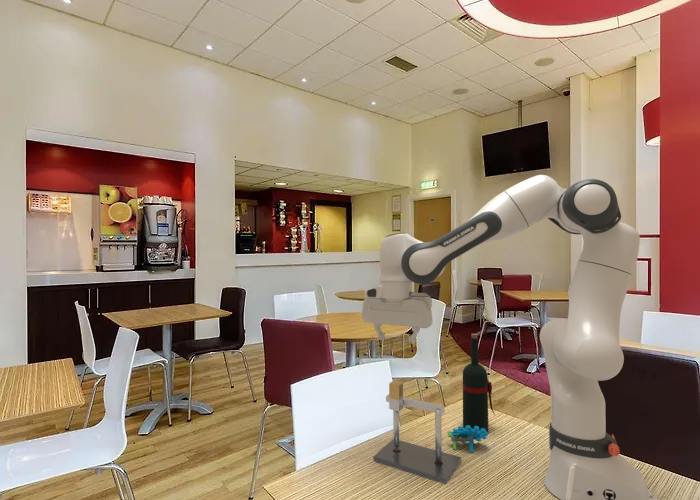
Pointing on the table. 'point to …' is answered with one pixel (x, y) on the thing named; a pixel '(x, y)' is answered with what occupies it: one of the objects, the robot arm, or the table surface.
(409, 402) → the divider frame
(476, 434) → the gear
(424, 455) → the bolt plate
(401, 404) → the leg
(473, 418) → the wine bottle
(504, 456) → the table surface
